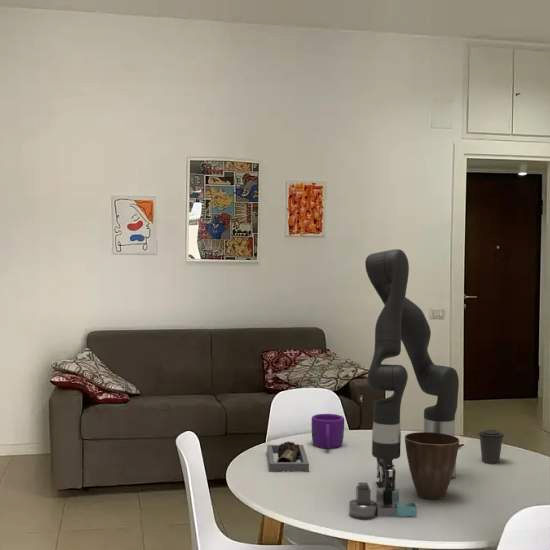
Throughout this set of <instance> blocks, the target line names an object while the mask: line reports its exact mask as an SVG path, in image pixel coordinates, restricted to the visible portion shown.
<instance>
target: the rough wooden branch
mask: <svg viewBox="0 0 550 550" xmlns="http://www.w3.org/2000/svg"><path fill="white" fill-rule="evenodd" d="M279 445H280V446H279V450H278V453H277V461H276V462H295V461H296V459H298V458H299V457H300V448H299V445H300V444H298V443H297V444H296V443H295V442H294V441H293V442H292V441H286V442H285V441H284V442H283V443H280V444H279Z"/></svg>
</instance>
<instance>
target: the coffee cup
mask: <svg viewBox="0 0 550 550" xmlns="http://www.w3.org/2000/svg"><path fill="white" fill-rule="evenodd" d="M478 436H479V442H480V452H481V453H480V454H481V462H482V463H483V462H484V464H487V465H498V464H499V463H500V458H501V452H502V445H503V438H504V437H505V434H504V433H503V432H501V431H497V430H495V429H486V430H485V429H484V430H480V431H479V432H478ZM497 463H498V464H497Z"/></svg>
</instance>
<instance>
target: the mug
mask: <svg viewBox="0 0 550 550" xmlns="http://www.w3.org/2000/svg"><path fill="white" fill-rule="evenodd" d="M344 433H345V417H344V416H342V415H340V414H333V413H318V414H314V415H312V417H311V440H312V443H313V445H314V446H315V447H317V448H320V447H322V448H321V449H336V447H337V448H339V447H341V446H342V445H343V441H344V437H345V436H344Z"/></svg>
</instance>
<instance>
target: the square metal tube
mask: <svg viewBox="0 0 550 550" xmlns="http://www.w3.org/2000/svg"><path fill="white" fill-rule="evenodd" d="M387 486H390V483H388V484H387ZM371 492H372V499H371V500H372V501H374V502H376V503H377V505H384V504H383V492H384V491H383V483H382V482H381V481H378V480H377V481H372V491H371ZM395 503H400V488H399V485H398V484H397V483H396V482H395V491H393V492H392V505H395Z"/></svg>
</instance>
